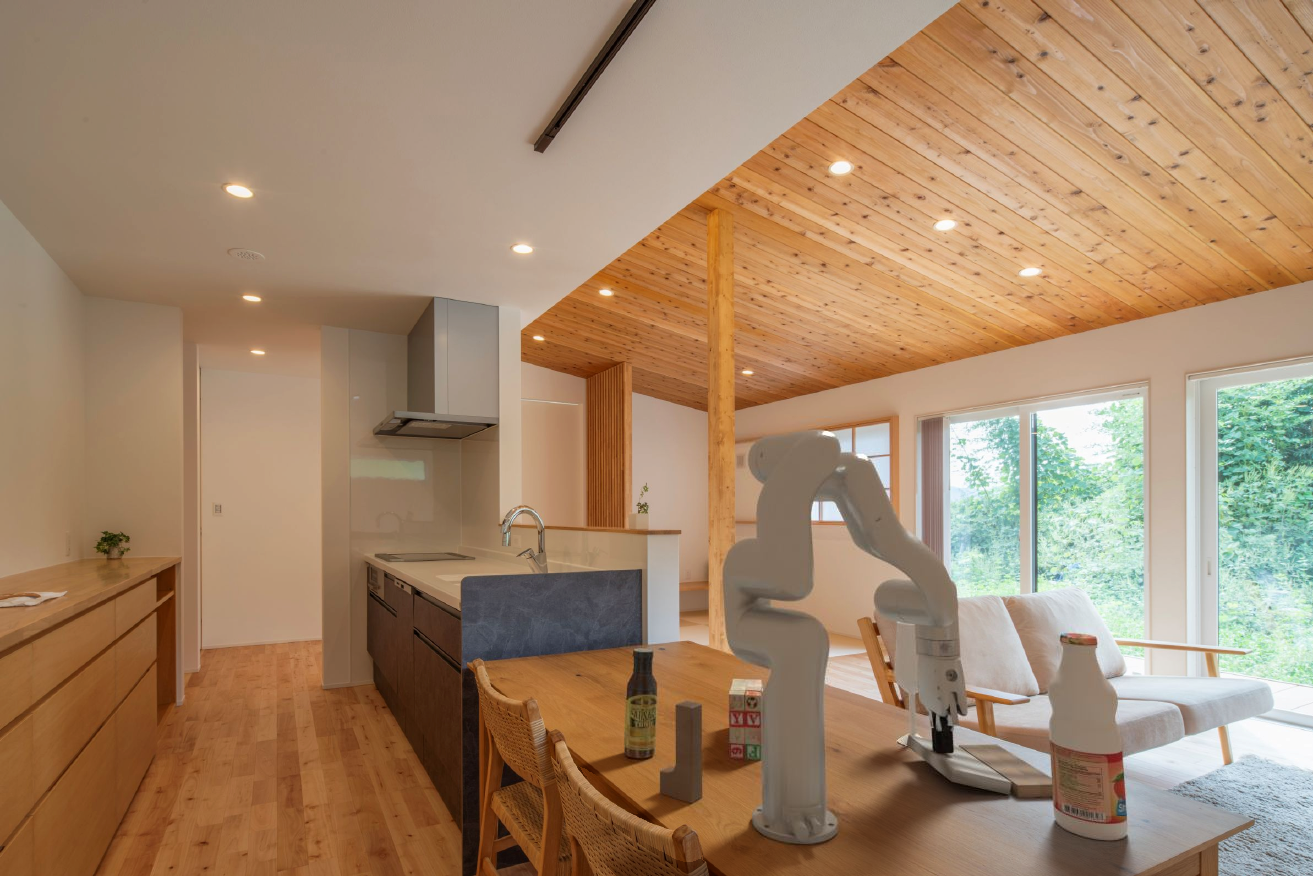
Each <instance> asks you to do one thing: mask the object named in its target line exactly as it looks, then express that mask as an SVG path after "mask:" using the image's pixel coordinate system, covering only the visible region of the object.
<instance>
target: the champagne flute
mask: <svg viewBox="0 0 1313 876" xmlns="http://www.w3.org/2000/svg"><path fill="white" fill-rule="evenodd" d="M895 637H896V638H895V649H894V651H895V653H894V666H893V667H894V669H893V670H894V671H893V677H894V679H895V682H896V683H897V684H898V686H899V687H900V688H901V689H903V691H904V692H906V693H907V694H908V706H909V707H908V708H909V709H908V712H909V733H907V734H906V735H903V736H901V737H899V738H898V740H896V742H897V741H898V742H899V743H901V744H904V745H905V746H904V747H906V746H907V741H908V735H911V736H915V737H920V738H923V737H922V736H921V735H919V734H918V733H917V718H916V717H917V716H916V694H919V693H918V655H916V641H915V624H909V623H902V622H896V634H895Z"/></svg>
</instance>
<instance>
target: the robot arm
mask: <svg viewBox="0 0 1313 876" xmlns="http://www.w3.org/2000/svg"><path fill="white" fill-rule="evenodd" d="M841 449H842V448H841V443H840V440H839V439H838V437H837V436H836V435H835V434H834V433H832V432H830V431H827V430H825V429H824V430H823V429H808V430H807V429H806V430H797V431H792V432H787V433H779V434H772V435H767V436H763V437H761V438H759V439H757V440H756V441H755V442H754V443H753V444H752V446H750V449H749V451H748V455H747V464H748V465H747V466H748V469H749V471H750V473H751V475H752V476H753V477H754V478H755V480H757V481H758V482H759V483H760V484H762V485H763V486H762V488H761V491H760V492H759V496H758V499H757V503H756V514H755V515H756V517H755V519H756V526H755V527H756V530H755V531H756V537H755V538H754V537H751V538H749V537H748V538H744V539H741V540H739V541H737V542H736V543H734V544H733V545H732V546H731V547H730V549H729V550H728V551H727V552H726V556H725V559H724V561H723V565H722V566H723V567H722V576H721V577H722V593H723V596H722V597H723V598H722V599H723V611H724V612H723V613H724V628H725V629H724V630H725V636H726V639H727V644H728V646H729V649H730V651H731V652H732V654H733V655H734V656H735V657H736V658H737V659H738V660H740V661H742V662H744V663H747V664H750V665H753V666H758V667H761V668H764V669H768V670H770V675H769V677H768V680H767V681H766V683H765V686H764V688H763V693H762V698H761V748H762V759H761V800H762V802H761V804H760V805H759V806H757V807H756V808H755V809H753V812H752V813H751V815H752V817H751V821H752V822H751V823H752V826H753V827H754V829H756V831H757V832H759V833H760V834H762V835H763V836H764V837H767V838H770V839H772V840H774V841H778V842H783V843H789V844H795V845H797V844H798V845H807V844H808V845H809V844H810V845H811V844H817V843H818V844H819V843H821V842H826V841H828V840H830V839H832V838H833V837H835V836H836V835H837V833H838V831H839V830H838V829H839V825H838V819H837V816H835V815H834V813H832V812H831V811H830V810H828V809H827V804H828V802H827V773H826V771H827V770H826V769H827V768H826V767H827V766H826V763H827V762H826V729H825V726H826V725H825V724H826V723H825V722H826V721H825V684H826V675H827V667H828V662H829V657H830V643H831V642H830V638H829V637H830V636H829V633H828V631H827V629H826V627H825V626H824V624H823V623H822V622H821V621H820V620H819V618H818V619H817V618H816V617H815V616H813V615H812V614H810V613H806V612H804V611H799V610H796V609H789V608H784V607H777V606H776V607H775V606H772V601H776V602H777V601H779V602H786V603H787V602H789V603H791V602H793V603H794V602H799V601H803V600H804V599H806V598H807V597H809V596H810V594H811V593H812V592H813V589H814V585H815V560H814V548H813V547H814V546H813V543H814V542H813V531H812V528H813V527H812V511H813V504H814V502H815V503H819V502H820V503H821V502H822V503H823V502H824V503H825V502H826V503H827V502H828V503H829V502H833V503H834V504H835V505H836V508H837V509H838V511H839V513H840V515H841V518H842V520H843V522H844V524H845V526H846V528H847V531H848V534H849V535H850V537H851V540H852V541H853V543H854V544H855V546H856V547H858V548H859V549H860V550H861V551H864V552H865V553H867V554H868V555H870V556H872V557H874V558H876V559H878V560H881V561H883V562H885V563H887V564H889V565H891V566H892V567H895V568H896V569H898V570H899V571H901V572H902V573H903V574H904V575H906V576H907V577H908V578H909V579H910V580H909V579H900V578H899V579H897V578H893V579H888V580H885V581H883V582H882V583H881V584H879V585H878V586H877V588H876V589H875V591H874V595H873V604H874V607H875V610H876V611H877V612H878V614H879V615H880V616H882V617H883V618H885V619H886V620H889V621H891V622H896V623H897V622H902V623H909V624H915V641H916V655H918V693H917V694H918V699H919V702H920V704H922V706H924V707H925V710H926V712H928V717H929V724H930V727H931V740H932V749H933V750H934V751H935V752H936V753H938V754H945V753H953V752H954V745H955V744H954V731H955V727H956V726H959V725H960V722H959V721H960V720H959V716H958V715H960V716H961V717H966V716H967V715H968V712H969V710H968V701H967V700H968V699H967V698H968V697H967V689H966V681H965V676H964V675H965V674H964V670H963V664H962V662H961V659H960V658H961V640H960V626H959V625H960V624H959V600H958V590H957V589H958V588H957V585H956V583H955V582H954V581H953V580H952V578H951V577H950V575H949V574H950V573H948V570H947V568H946V566H945V565H944V562H943V561H942V560H941V559H940V557H938V555H937V554H936V553H935V552H934V551H933V550H932V549H931V548H930V547H929V546H928V545H926V544H925V543H924V542H923V541H922V540H921V539H919V538H918V536H916V535H915V534H914V533H912V531H909V530H908V529H907V528H906V527H904V526H903V525H902V524H901V522H900V519H899V518H898V515H897V513H896V510H895V509H894V506H893V504H892V502H891V499H890V497H889V496H888V493H887V491H886V489H885V487H884V484H883V482H882V479H881V478H880V475H879V473H878V471H877V469H876V467H875V465H874V463H873V461H872V460H871V459H870V458H869V456H867V455H866V454H863V453H861V452H855V451H848V452H847V451H846V452H845V451H844V452H842V450H841Z"/></svg>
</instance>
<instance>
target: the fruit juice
mask: <svg viewBox="0 0 1313 876" xmlns="http://www.w3.org/2000/svg"><path fill="white" fill-rule="evenodd" d="M1059 642H1060V645H1061V646H1062V655H1061V656H1062V657H1061V660H1060V663H1059V664H1060V665H1059V666H1058V669H1057V671H1056V673H1055V674H1054V675H1053V676H1052V678H1050V681H1049V682H1048V686H1047V697H1048V701H1049V704H1050V706H1051V710H1052V712H1051V715H1050V717H1049V718H1050V719H1049V722H1048V724H1049V725H1048V739H1049V751H1050V752H1049V754H1050V755H1049V756H1050V767H1051V768H1050V770H1051V771H1050V773H1051V778H1052V791H1053V797H1052V803H1053V804H1052V805H1053V807H1052V808H1053V815H1054V819H1055V821H1056V823H1057V825H1058V826H1059V827H1061V828H1062V829H1064V830H1066V831H1067V832H1070V833H1072V834H1074V835H1077V836H1080V837H1083V838H1087V839H1092V840H1099V841H1118V840H1122V839H1123V838H1125V837H1126V836H1127V834H1128V813H1127V810H1128V809H1127V797H1126V785H1125V783H1126V782H1125V770H1124V753H1123V741H1122V735H1121V730H1120V727H1119V725H1118V723H1117V721H1116V714H1117V710H1118V707H1119V706H1118V705H1119V701H1118V694H1117V692H1116V689H1115V688H1114V686H1113V685H1112V683H1111V682H1110V681H1109V680H1108V679H1107V678H1106V677H1105V675H1104V673H1103V671H1102V669H1101V667H1100V664H1099V661H1098V659H1097V658H1098V657H1097V653H1096V652H1097V651H1096V649H1097V648H1098V638H1097V637H1096V636H1094V635H1092V634H1086V633H1077V632H1076V633H1075V632H1073V633H1072V632H1066V633H1060V635H1059Z"/></svg>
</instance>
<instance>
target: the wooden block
mask: <svg viewBox="0 0 1313 876" xmlns="http://www.w3.org/2000/svg"><path fill="white" fill-rule="evenodd" d="M702 706H703V705H702V703H699V702H695V701H690V700H685V701H683V702H678V703H677V704H676V703H675V765H674V766H673V765H670V766H668V767H666V768H663V769H662V770H660V771H659V794H660V795H663V796H666V797H670V798H672V799H676V800H679V801H683V802H686V803H689V804H693V803H695V802H697V801H699V800H700V799H702V798H703V720H702V719H703V718H702V717H703V715H702V713H703V709H702V708H703V707H702Z"/></svg>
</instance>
